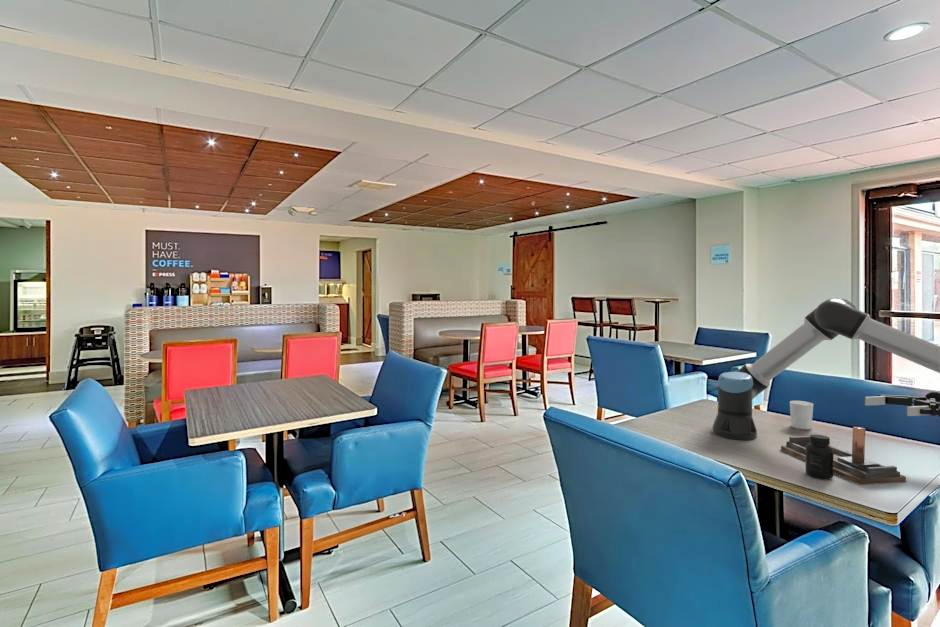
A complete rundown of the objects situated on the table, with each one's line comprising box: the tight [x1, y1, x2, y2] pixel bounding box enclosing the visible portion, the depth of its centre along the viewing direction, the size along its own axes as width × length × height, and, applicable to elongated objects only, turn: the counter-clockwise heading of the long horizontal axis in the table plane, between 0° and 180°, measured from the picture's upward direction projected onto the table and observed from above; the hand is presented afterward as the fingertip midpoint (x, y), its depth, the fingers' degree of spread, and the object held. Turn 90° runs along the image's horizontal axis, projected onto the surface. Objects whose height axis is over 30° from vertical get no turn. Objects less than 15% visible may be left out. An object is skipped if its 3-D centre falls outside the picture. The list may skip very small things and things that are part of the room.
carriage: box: [838, 426, 880, 472], centre depth 147 cm, size 7×7×12 cm
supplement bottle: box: [804, 434, 834, 480], centre depth 145 cm, size 7×7×12 cm
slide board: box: [780, 435, 907, 485], centre depth 154 cm, size 30×15×4 cm, turn 6°
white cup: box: [789, 400, 814, 430], centre depth 195 cm, size 8×8×10 cm
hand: (886, 406), depth 151 cm, fingers open, 13 cm apart
